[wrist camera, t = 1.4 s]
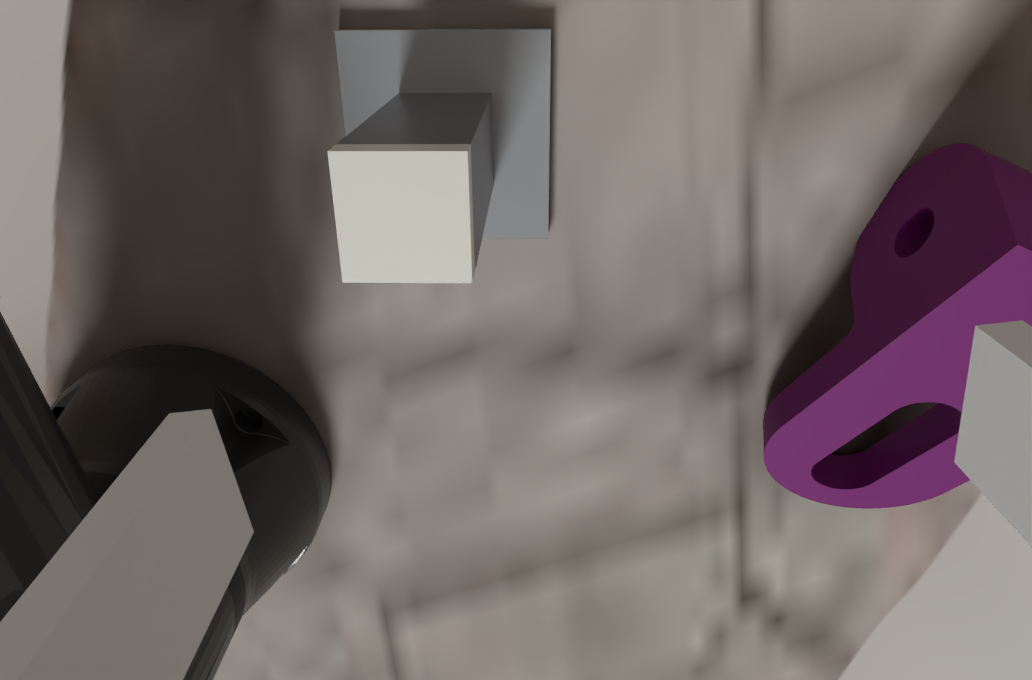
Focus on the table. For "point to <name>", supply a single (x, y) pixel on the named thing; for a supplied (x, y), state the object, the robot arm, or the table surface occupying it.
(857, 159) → the table surface
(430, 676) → the table surface
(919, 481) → the mounting bracket
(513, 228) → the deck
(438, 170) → the plug
